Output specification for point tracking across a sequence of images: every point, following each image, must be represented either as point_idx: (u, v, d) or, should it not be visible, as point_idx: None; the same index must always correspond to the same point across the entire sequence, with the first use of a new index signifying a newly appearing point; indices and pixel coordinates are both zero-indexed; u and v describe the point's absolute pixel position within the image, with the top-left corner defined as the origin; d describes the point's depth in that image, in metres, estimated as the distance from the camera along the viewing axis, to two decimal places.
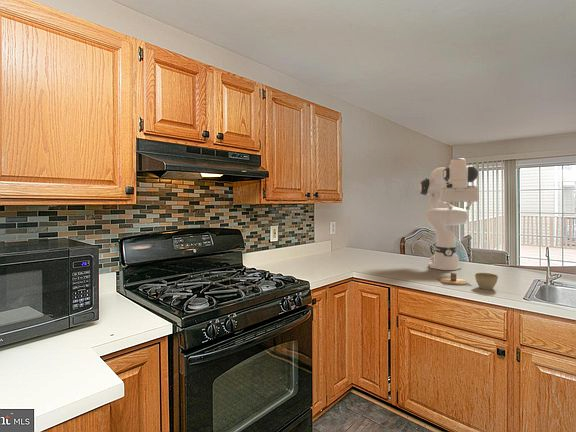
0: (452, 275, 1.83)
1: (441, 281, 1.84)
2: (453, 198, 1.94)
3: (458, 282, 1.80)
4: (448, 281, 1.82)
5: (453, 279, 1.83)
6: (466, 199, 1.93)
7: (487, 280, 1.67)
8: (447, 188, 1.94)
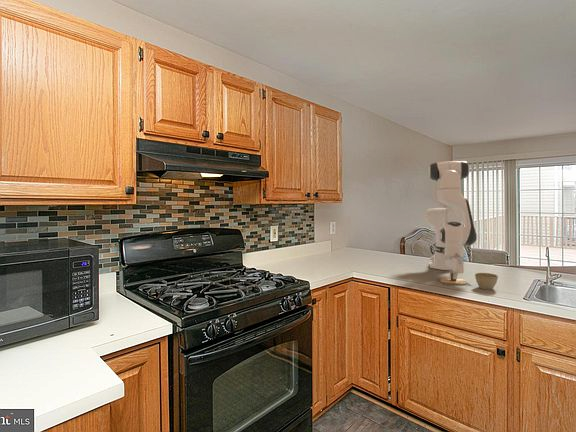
0: (452, 275, 1.83)
1: (441, 281, 1.84)
2: (448, 264, 1.87)
3: (458, 282, 1.80)
4: (448, 281, 1.82)
5: (453, 279, 1.83)
6: (452, 268, 1.80)
7: (487, 280, 1.67)
8: (444, 253, 1.90)
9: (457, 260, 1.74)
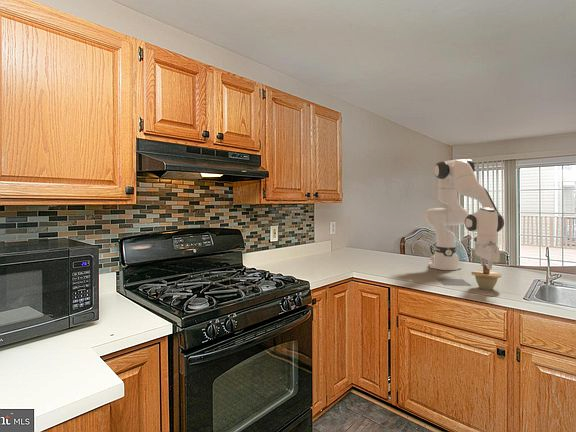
0: (485, 267, 1.70)
1: (473, 274, 1.71)
2: (480, 253, 1.74)
3: (492, 275, 1.67)
4: (481, 274, 1.69)
5: (486, 272, 1.70)
6: (485, 257, 1.67)
7: (487, 280, 1.67)
8: (475, 241, 1.77)
9: (492, 248, 1.61)
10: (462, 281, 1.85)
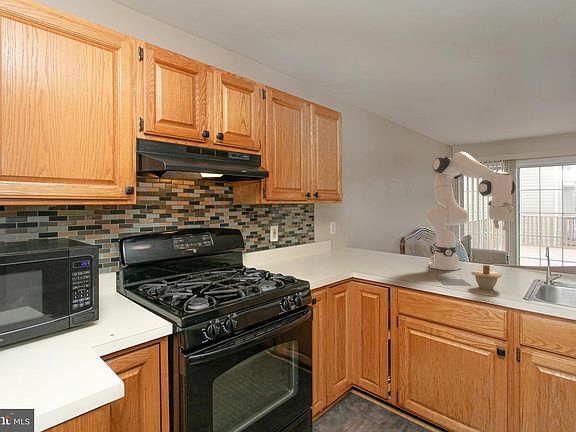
0: (485, 267, 1.70)
1: (473, 274, 1.71)
2: (494, 216, 1.82)
3: (492, 275, 1.67)
4: (481, 274, 1.69)
5: (486, 272, 1.70)
6: (500, 218, 1.75)
7: (487, 280, 1.67)
8: None
9: (507, 208, 1.69)
10: (462, 281, 1.85)
